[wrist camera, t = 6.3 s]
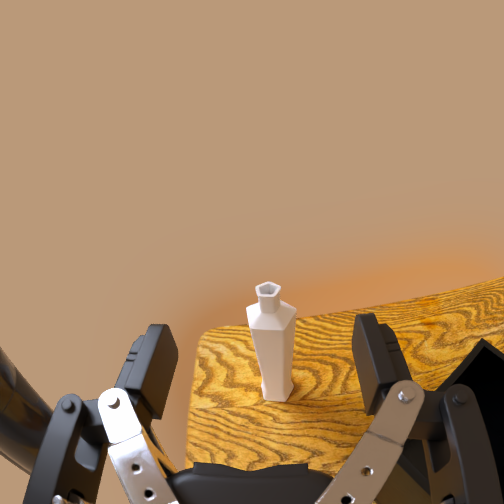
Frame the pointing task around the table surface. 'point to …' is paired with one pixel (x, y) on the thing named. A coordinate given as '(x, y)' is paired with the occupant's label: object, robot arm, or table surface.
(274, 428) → the table surface
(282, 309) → the perfume bottle
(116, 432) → the robot arm
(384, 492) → the open box
